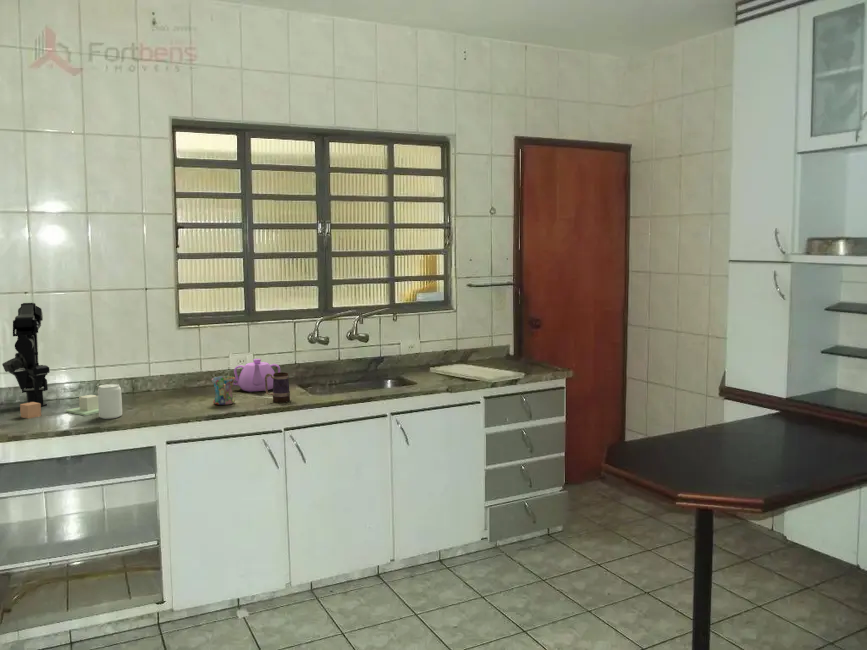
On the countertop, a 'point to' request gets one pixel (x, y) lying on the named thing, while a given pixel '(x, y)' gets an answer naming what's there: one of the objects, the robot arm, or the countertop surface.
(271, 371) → the teapot
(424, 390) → the countertop surface
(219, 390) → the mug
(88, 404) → the cream brick
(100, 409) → the beverage can
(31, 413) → the terracotta brick
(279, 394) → the mug
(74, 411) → the plate
